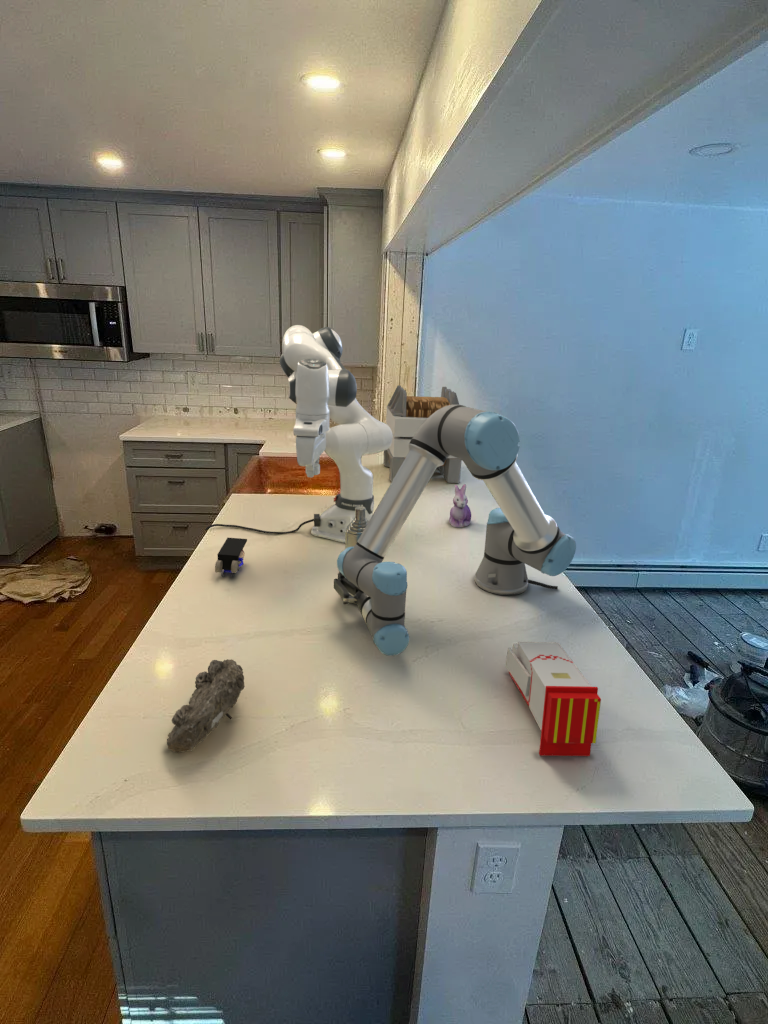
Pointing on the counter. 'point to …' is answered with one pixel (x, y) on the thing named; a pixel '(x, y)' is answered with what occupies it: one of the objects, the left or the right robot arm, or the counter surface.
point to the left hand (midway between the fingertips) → (312, 474)
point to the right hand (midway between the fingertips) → (355, 568)
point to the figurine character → (230, 556)
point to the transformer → (415, 428)
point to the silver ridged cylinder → (356, 528)
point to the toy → (556, 697)
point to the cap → (316, 468)
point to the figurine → (460, 508)
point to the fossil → (206, 705)
